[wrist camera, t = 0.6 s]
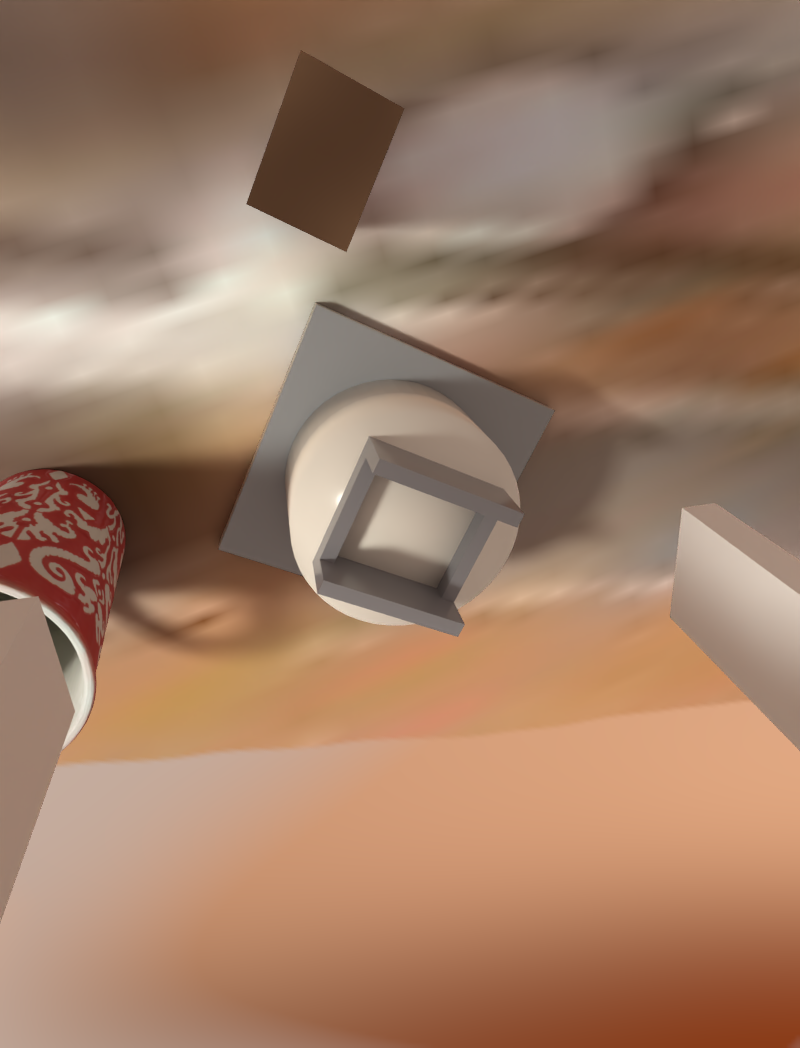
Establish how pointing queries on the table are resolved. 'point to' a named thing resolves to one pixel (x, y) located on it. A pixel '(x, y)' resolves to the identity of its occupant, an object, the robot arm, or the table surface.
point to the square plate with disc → (386, 476)
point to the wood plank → (324, 152)
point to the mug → (63, 568)
